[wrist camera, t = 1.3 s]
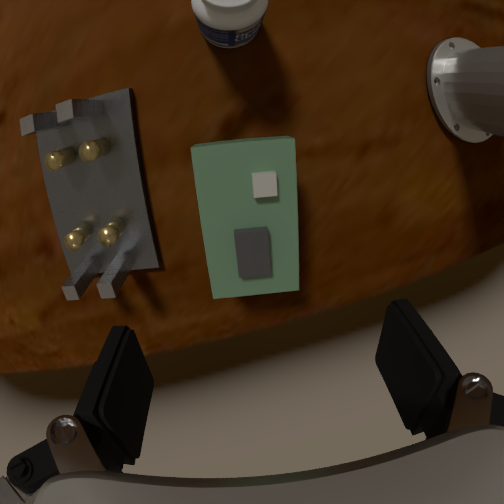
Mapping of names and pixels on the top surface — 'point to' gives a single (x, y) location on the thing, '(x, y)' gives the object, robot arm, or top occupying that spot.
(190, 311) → the top surface
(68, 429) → the robot arm
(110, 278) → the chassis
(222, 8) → the pill bottle
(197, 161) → the board
